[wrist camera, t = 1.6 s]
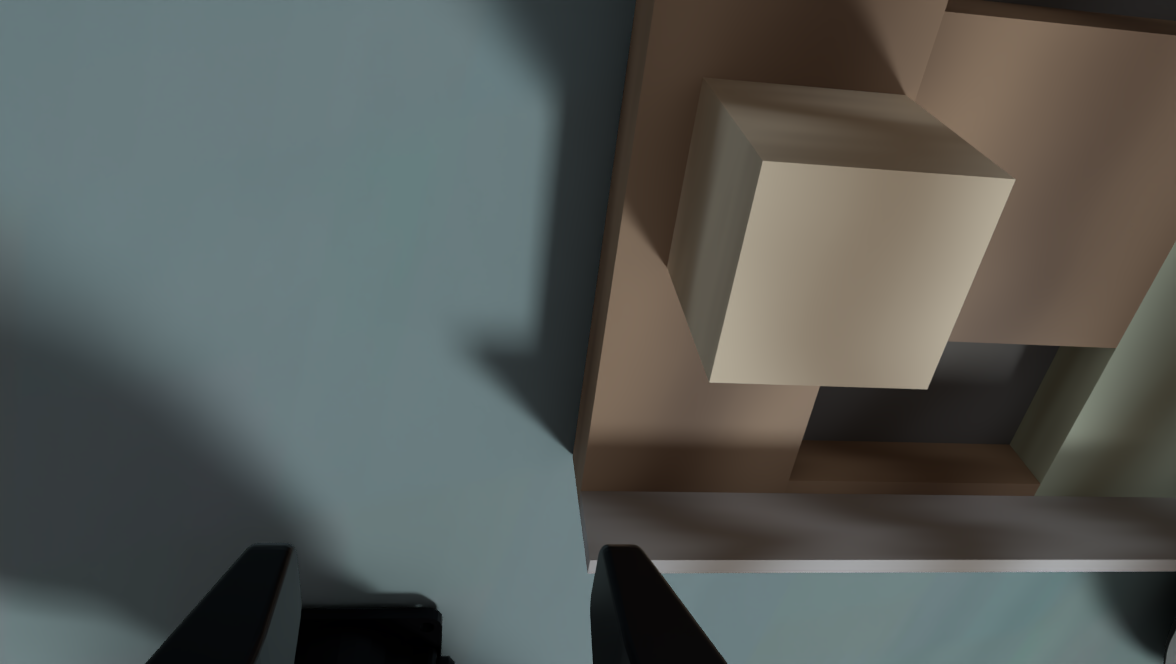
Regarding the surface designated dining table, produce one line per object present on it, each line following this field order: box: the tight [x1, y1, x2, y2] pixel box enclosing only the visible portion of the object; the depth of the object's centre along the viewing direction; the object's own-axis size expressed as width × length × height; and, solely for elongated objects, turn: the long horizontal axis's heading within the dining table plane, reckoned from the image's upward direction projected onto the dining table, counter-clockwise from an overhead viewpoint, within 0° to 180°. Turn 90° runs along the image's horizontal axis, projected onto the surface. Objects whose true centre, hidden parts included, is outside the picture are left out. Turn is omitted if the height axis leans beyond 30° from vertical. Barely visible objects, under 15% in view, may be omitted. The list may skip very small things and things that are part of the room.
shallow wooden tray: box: [573, 0, 1176, 573], centre depth 19 cm, size 20×20×5 cm
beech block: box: [667, 77, 1016, 389], centre depth 17 cm, size 4×4×4 cm
